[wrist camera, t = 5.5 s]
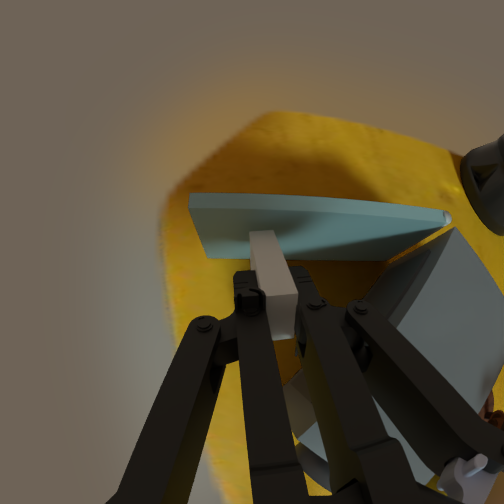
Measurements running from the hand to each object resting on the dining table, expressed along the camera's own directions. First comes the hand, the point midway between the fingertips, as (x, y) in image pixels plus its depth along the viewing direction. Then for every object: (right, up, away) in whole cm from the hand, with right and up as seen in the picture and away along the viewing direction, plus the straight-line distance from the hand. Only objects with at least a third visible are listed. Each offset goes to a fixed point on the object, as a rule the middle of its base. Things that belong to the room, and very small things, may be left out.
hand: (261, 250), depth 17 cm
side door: (+5, 0, +9) cm, 10 cm away
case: (+11, -12, +6) cm, 17 cm away
